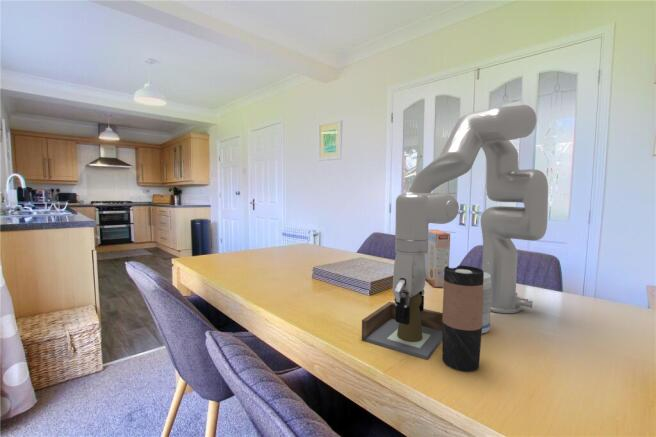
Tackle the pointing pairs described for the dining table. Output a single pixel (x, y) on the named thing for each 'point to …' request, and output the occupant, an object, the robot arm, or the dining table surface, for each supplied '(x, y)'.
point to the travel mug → (462, 317)
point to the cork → (412, 322)
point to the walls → (389, 312)
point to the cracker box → (437, 257)
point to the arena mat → (390, 340)
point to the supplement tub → (486, 303)
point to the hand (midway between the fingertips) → (410, 316)
